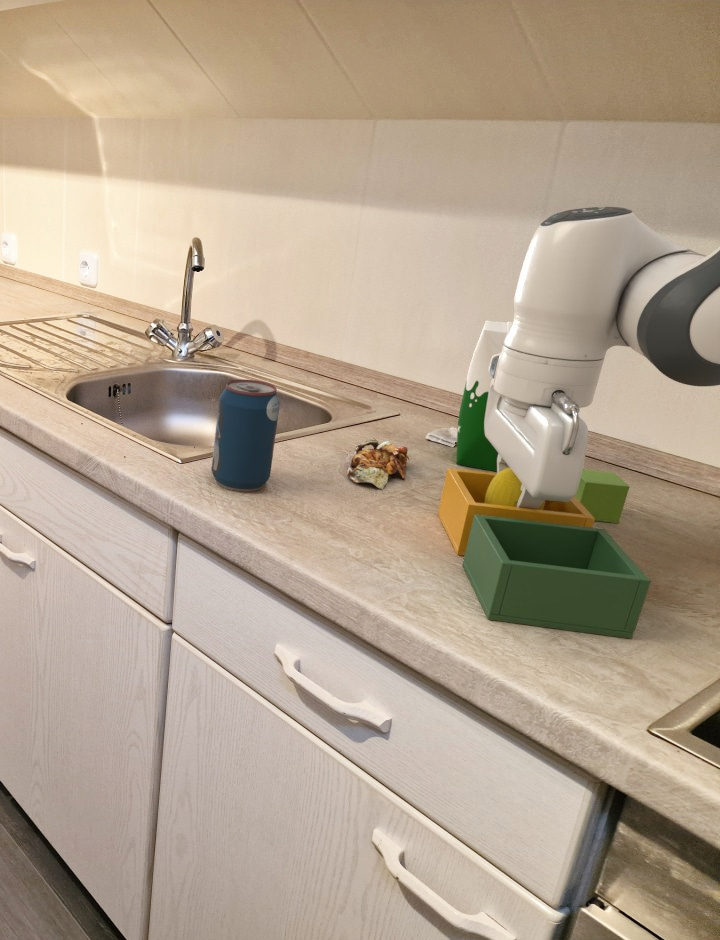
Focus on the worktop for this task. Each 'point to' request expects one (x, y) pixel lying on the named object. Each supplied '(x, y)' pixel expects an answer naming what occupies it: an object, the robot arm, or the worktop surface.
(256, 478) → the soda can
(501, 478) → the lemon
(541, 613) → the green bin
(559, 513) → the ochre bin
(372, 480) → the pastry
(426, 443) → the worktop surface
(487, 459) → the milk carton
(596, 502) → the green block
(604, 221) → the robot arm
